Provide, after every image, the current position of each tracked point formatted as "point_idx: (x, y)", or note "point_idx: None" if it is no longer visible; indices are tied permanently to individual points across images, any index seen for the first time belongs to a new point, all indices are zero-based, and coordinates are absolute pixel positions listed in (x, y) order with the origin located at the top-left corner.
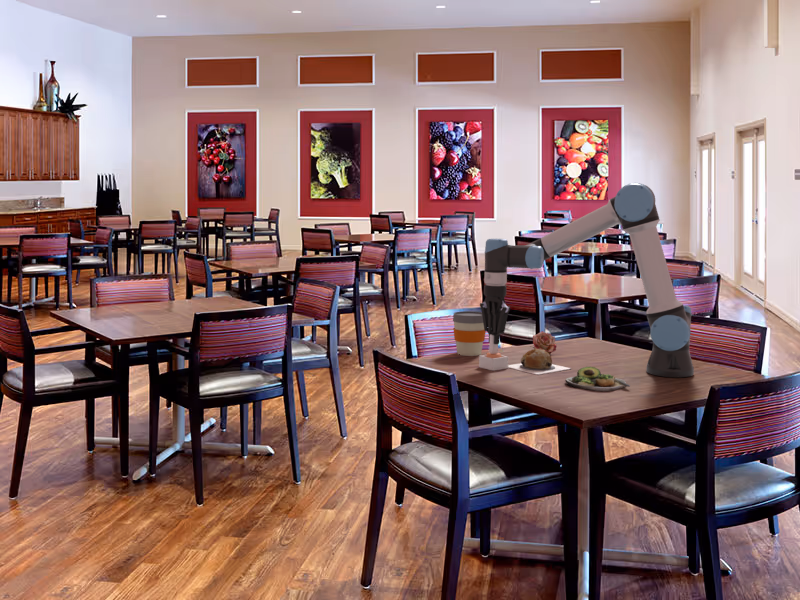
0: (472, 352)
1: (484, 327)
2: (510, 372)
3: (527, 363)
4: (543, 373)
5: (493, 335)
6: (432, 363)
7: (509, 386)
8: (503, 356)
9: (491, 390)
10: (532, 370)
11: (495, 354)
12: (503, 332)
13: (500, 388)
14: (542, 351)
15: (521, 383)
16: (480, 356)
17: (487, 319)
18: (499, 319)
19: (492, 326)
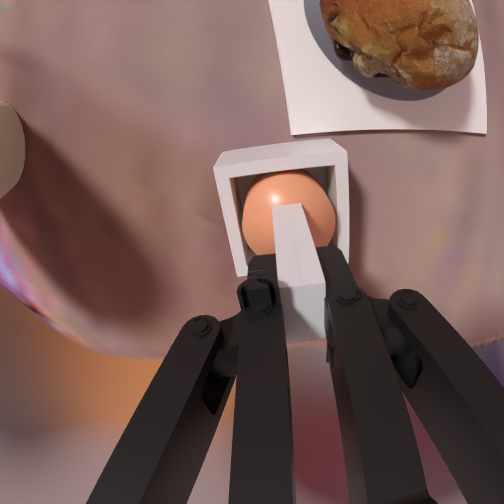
0: (17, 157)
1: (203, 390)
2: (402, 189)
3: (420, 88)
4: (485, 101)
5: (324, 328)
6: (127, 335)
7: (489, 303)
8: (316, 165)
9: (472, 346)
10: (439, 94)
11: (315, 230)
12: (418, 301)
13: (480, 326)
14: (468, 9)
15: (500, 261)
16: (247, 273)
17: (191, 452)
18: (448, 456)
19: (289, 386)
